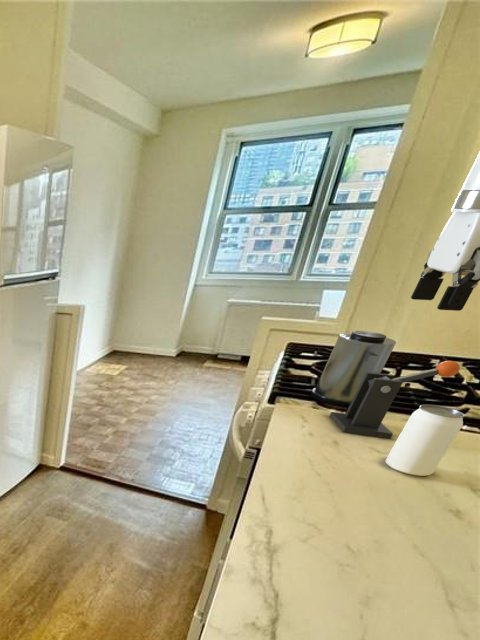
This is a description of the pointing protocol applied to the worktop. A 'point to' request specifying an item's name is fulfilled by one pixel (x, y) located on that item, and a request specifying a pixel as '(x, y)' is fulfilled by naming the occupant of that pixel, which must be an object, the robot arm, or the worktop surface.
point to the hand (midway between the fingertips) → (434, 304)
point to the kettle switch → (430, 372)
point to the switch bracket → (369, 406)
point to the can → (425, 440)
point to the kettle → (351, 366)
